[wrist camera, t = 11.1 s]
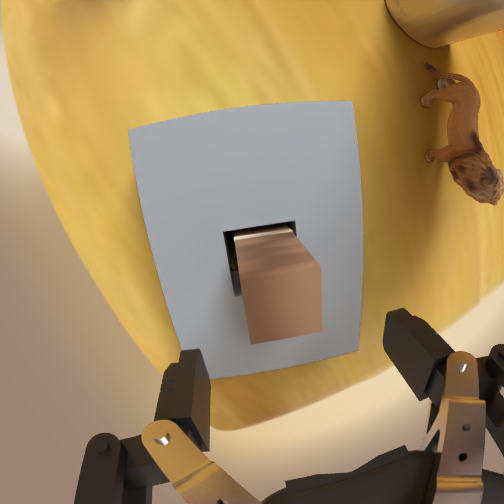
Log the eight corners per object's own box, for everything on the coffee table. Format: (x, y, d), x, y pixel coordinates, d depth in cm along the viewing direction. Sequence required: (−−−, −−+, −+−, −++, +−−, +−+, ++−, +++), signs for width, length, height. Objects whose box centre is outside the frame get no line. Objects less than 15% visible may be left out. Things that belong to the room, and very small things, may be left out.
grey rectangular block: (328, 109, 22) (352, 101, 17) (340, 323, 30) (358, 350, 25) (146, 134, 21) (127, 130, 17) (196, 349, 29) (193, 381, 24)
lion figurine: (456, 188, 26) (513, 205, 17) (426, 194, 26) (485, 213, 17) (438, 66, 21) (493, 53, 12) (404, 61, 21) (460, 41, 12)
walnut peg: (278, 214, 25) (321, 264, 14) (282, 257, 26) (322, 332, 15) (232, 221, 25) (238, 278, 13) (238, 264, 26) (249, 345, 15)
